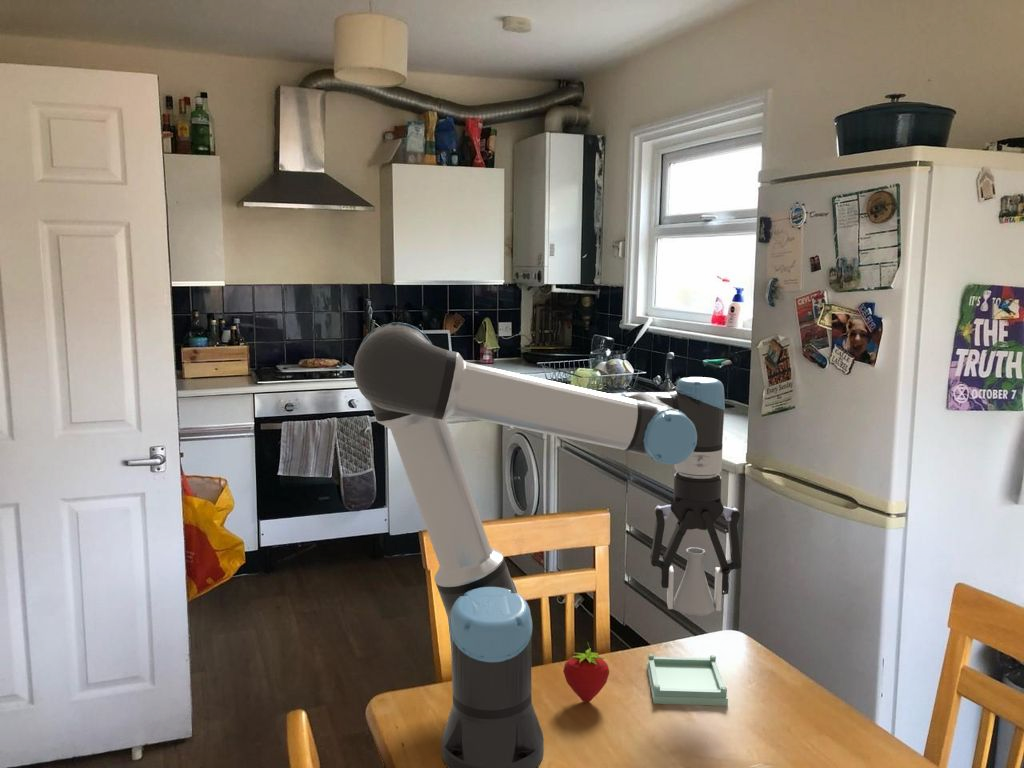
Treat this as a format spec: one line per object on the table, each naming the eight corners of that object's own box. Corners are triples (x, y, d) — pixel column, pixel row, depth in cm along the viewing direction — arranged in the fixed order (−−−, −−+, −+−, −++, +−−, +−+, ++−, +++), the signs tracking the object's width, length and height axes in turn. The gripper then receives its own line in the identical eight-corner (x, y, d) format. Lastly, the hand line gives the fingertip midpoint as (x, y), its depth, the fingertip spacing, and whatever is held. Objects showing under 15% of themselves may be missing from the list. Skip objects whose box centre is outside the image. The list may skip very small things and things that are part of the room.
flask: (665, 611, 136) (667, 553, 135) (679, 596, 143) (681, 540, 141) (709, 620, 133) (711, 561, 131) (721, 604, 139) (723, 547, 138)
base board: (653, 703, 136) (653, 688, 135) (647, 667, 148) (647, 653, 147) (727, 705, 135) (728, 690, 134) (715, 669, 147) (715, 655, 146)
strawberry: (562, 691, 140) (562, 636, 138) (607, 692, 139) (608, 636, 138) (563, 710, 134) (563, 652, 132) (610, 711, 133) (610, 653, 132)
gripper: (636, 477, 132) (633, 613, 135) (765, 480, 130) (759, 618, 133) (634, 465, 139) (631, 595, 142) (756, 468, 137) (750, 599, 140)
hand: (693, 606), depth 138 cm, fingers closed on flask, 7 cm apart
